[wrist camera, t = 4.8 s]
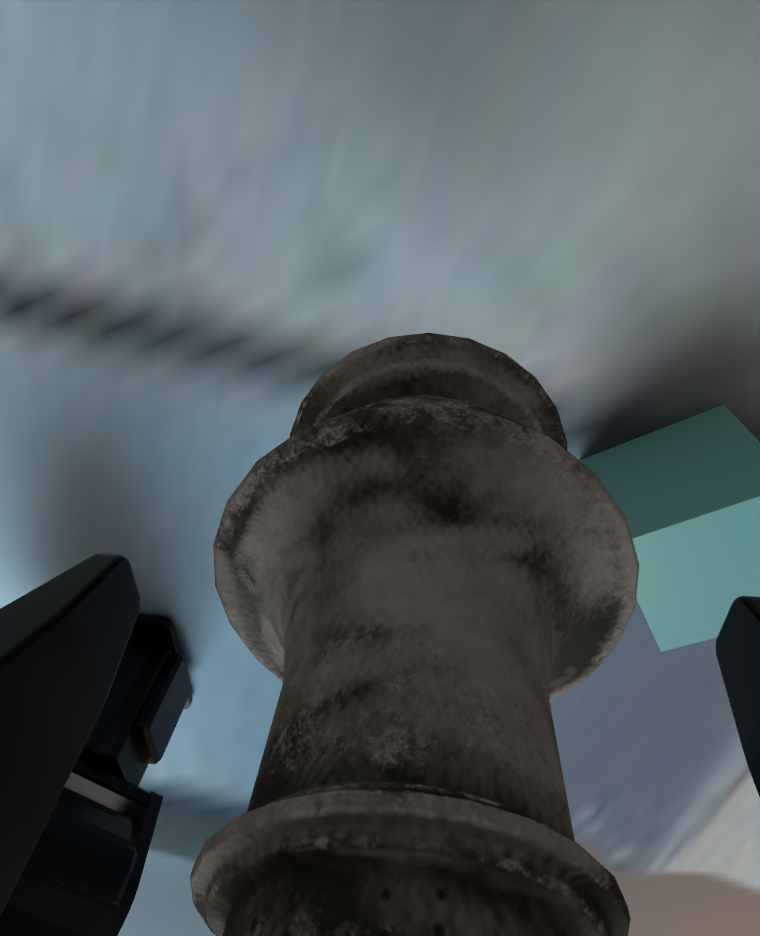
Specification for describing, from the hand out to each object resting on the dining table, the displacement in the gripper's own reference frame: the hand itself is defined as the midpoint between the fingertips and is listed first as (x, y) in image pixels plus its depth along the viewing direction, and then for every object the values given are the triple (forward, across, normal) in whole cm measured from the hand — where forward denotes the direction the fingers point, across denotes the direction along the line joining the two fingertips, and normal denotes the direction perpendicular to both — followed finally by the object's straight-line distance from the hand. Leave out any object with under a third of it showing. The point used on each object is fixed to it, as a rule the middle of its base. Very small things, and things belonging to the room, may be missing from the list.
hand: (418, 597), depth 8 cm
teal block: (+13, -9, +6) cm, 17 cm away
